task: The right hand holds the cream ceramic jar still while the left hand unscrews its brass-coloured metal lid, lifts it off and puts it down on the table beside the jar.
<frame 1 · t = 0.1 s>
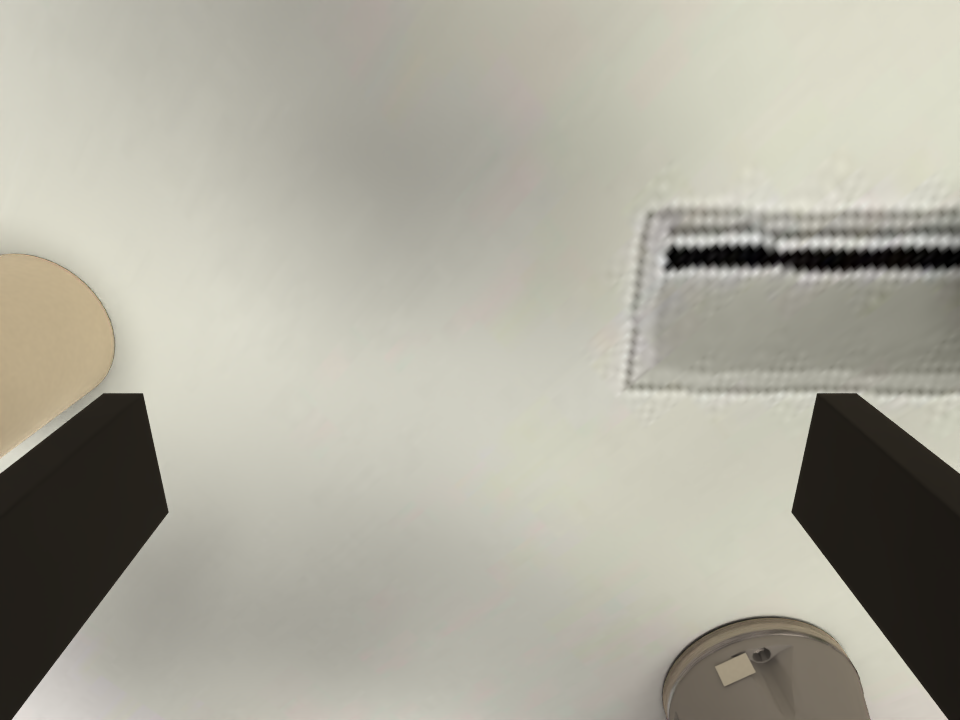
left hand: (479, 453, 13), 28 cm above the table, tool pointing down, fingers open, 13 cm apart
jar: (35, 330, 41), on the table
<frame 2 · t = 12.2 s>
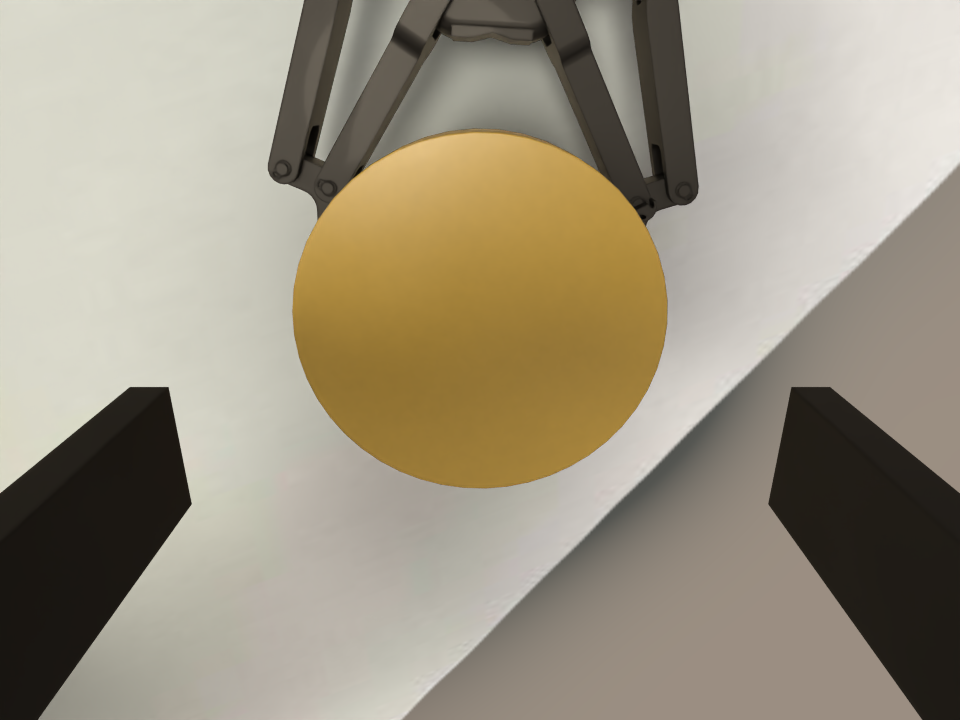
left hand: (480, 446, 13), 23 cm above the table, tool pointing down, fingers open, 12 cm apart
right hand: (475, 350, 30), fingers closed on jar, 10 cm apart
lid: (480, 325, 20), point 15 cm above the table, screwed on, not yet turned
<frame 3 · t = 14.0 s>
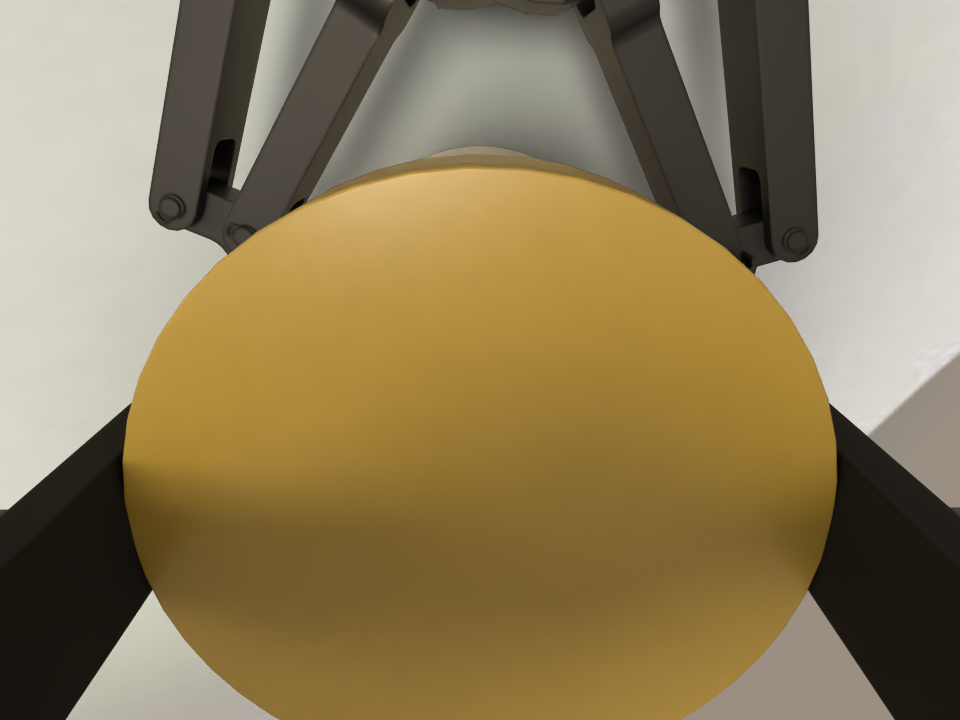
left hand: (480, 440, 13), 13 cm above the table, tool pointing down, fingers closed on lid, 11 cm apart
jar: (479, 280, 25), on the table, touching right hand
lid: (480, 518, 11), point 15 cm above the table, screwed on, not yet turned, touching left hand
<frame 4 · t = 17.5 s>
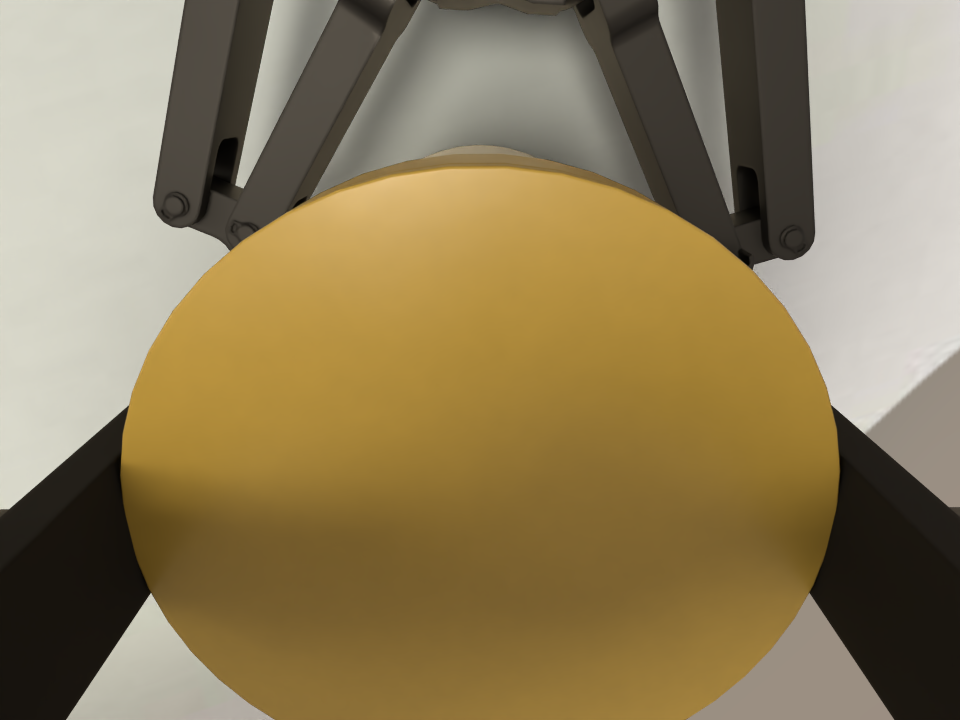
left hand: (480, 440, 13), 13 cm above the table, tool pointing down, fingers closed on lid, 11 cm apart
jar: (480, 278, 25), on the table, touching right hand
lid: (480, 519, 11), point 16 cm above the table, turned 100° so far, risen 0.3 cm, still on its thread, touching left hand
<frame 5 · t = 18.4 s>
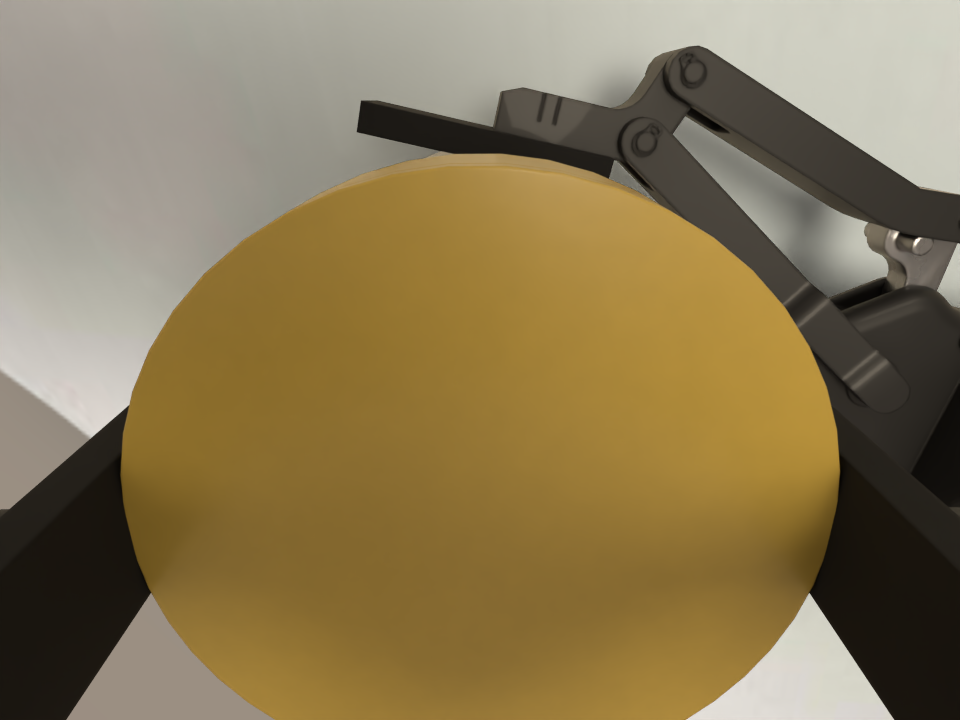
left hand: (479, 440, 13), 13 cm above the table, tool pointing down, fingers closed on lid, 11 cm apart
right hand: (340, 303, 19), fingers closed on jar, 10 cm apart
lid: (480, 519, 11), point 16 cm above the table, off its thread, touching left hand
when the left hand's fingers open (0 cm above the table, at t = 23.8 s): lid drops 1 cm, point 2 cm above the table.
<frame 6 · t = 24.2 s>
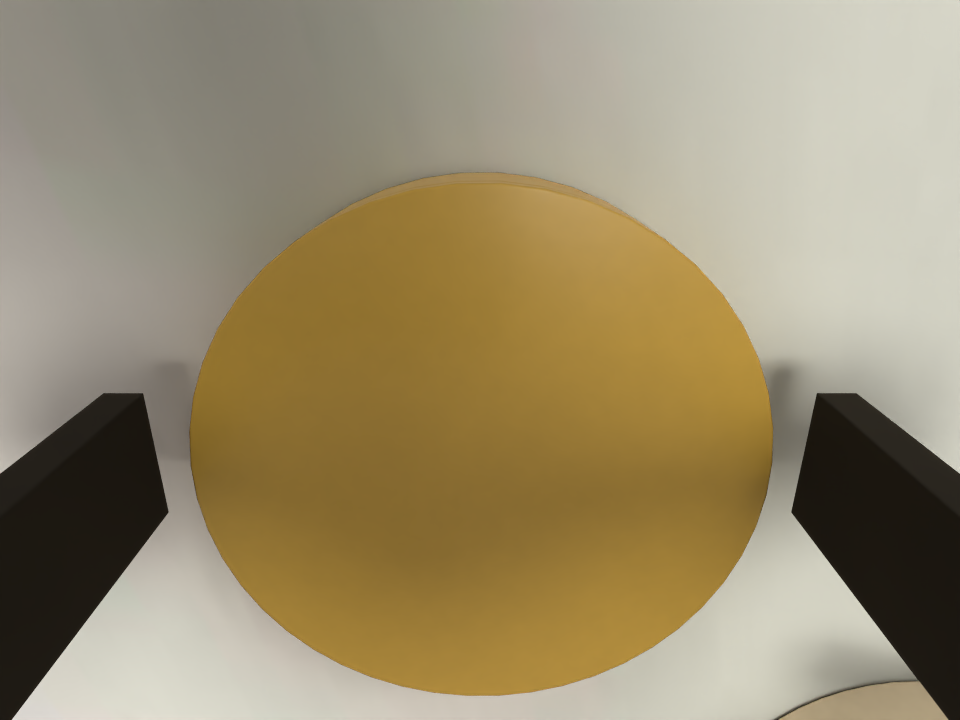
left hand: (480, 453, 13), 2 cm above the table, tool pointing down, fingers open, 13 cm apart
lid: (481, 471, 13), point 2 cm above the table, off its thread
when the right hand's fingers open (7 cm above the table, at t = 24.8 s): jar stays where it is, on the table.
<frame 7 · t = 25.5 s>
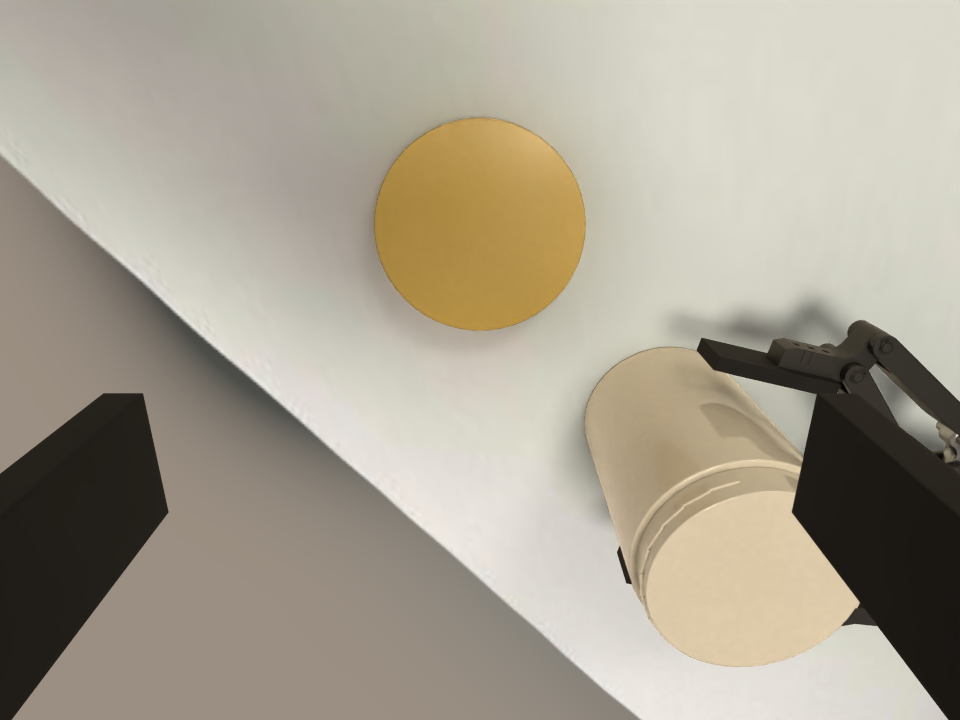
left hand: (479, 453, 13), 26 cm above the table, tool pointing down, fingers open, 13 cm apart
jar: (661, 419, 42), on the table
lid: (479, 229, 35), point 2 cm above the table, off its thread
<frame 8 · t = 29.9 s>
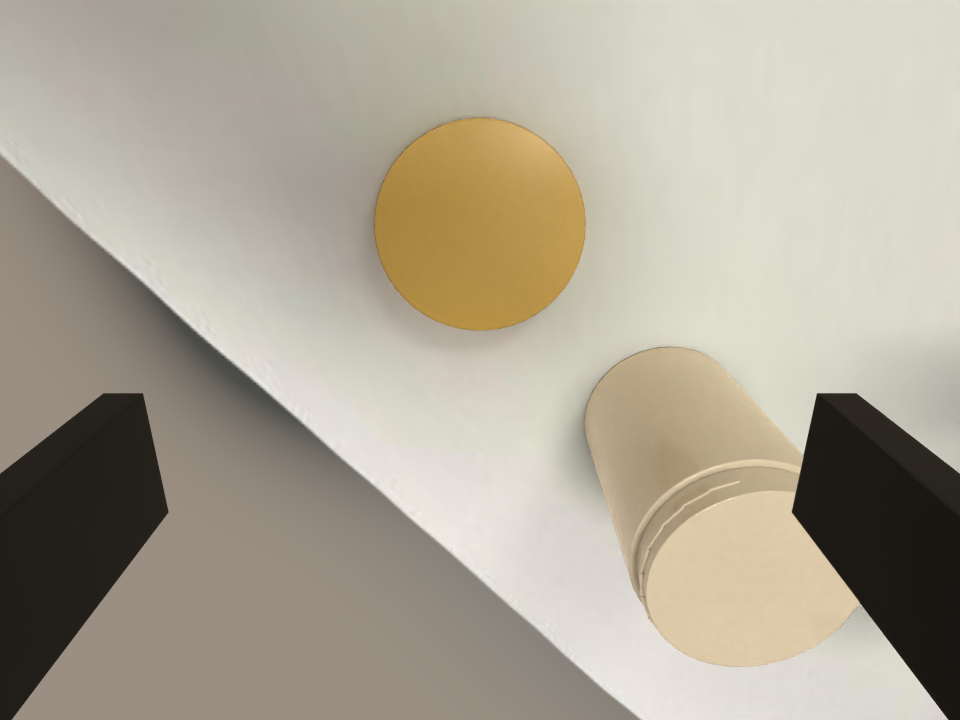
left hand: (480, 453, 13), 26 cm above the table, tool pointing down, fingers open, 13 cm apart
jar: (661, 419, 42), on the table
lid: (479, 229, 35), point 2 cm above the table, off its thread
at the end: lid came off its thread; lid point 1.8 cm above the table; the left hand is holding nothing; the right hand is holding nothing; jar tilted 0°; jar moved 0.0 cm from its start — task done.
